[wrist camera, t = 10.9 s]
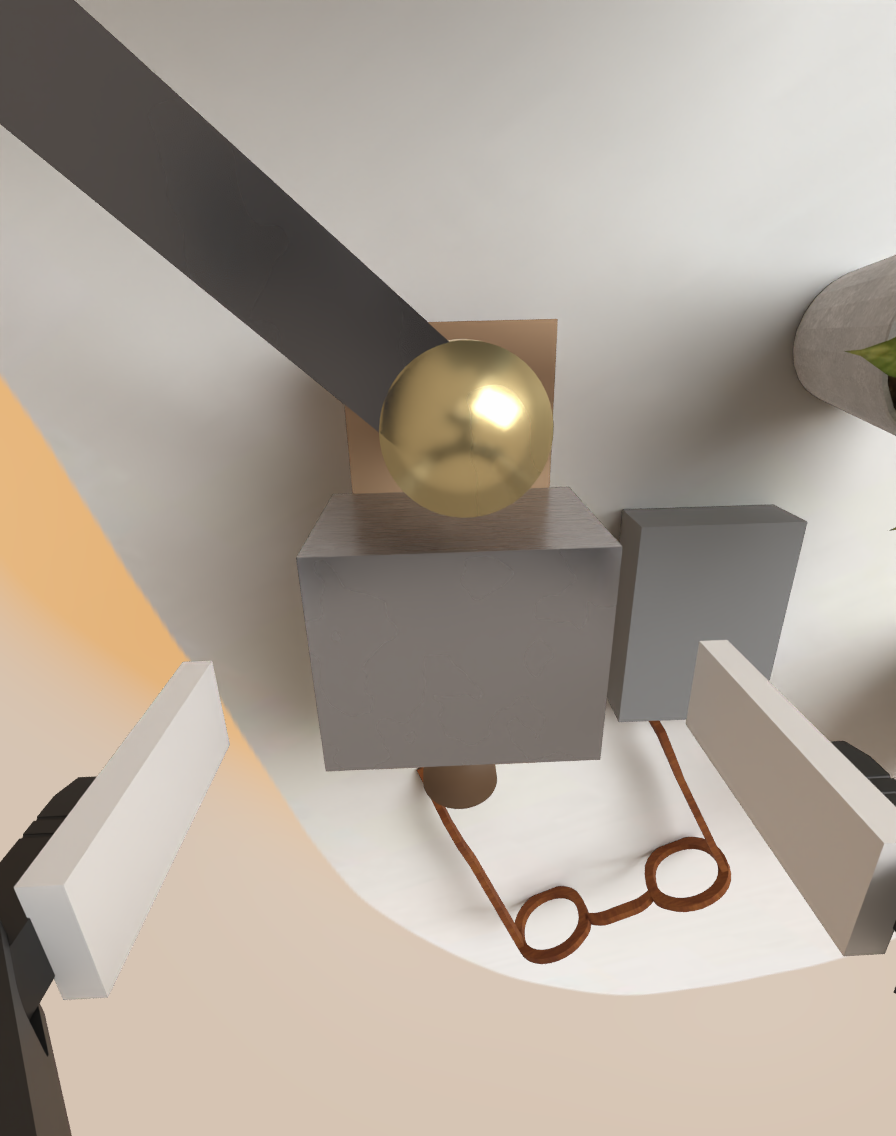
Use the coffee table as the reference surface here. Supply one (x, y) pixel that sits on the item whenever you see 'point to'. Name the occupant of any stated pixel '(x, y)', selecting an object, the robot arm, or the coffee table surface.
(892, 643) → the coffee table surface
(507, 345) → the body
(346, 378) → the lever
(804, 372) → the house plant
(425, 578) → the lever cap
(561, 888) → the glasses
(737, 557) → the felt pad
